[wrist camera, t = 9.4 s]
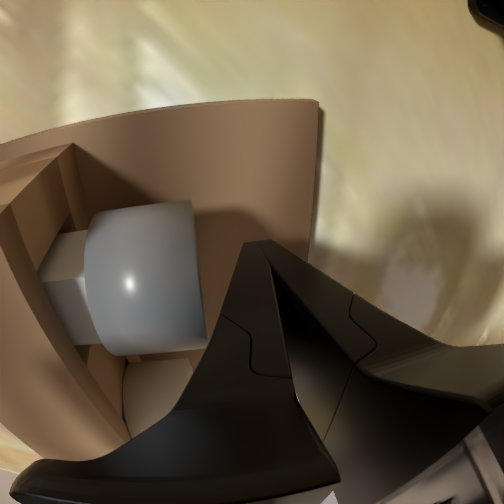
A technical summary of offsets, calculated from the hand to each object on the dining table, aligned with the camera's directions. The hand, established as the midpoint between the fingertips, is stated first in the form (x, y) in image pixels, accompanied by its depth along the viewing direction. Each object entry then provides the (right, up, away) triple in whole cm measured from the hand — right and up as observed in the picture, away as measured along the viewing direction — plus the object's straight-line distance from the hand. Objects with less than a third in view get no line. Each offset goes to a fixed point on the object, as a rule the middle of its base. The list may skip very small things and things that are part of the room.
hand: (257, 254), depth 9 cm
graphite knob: (-6, 0, 0) cm, 6 cm away
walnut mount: (-4, -2, +3) cm, 6 cm away
